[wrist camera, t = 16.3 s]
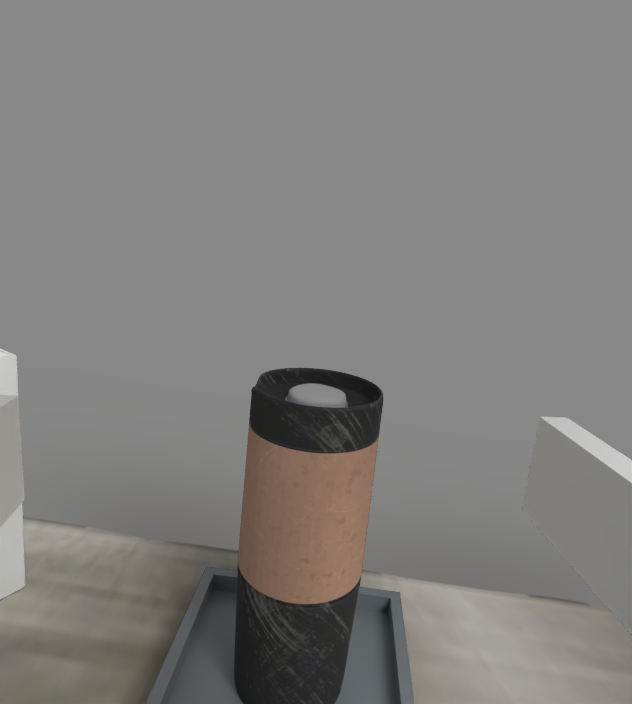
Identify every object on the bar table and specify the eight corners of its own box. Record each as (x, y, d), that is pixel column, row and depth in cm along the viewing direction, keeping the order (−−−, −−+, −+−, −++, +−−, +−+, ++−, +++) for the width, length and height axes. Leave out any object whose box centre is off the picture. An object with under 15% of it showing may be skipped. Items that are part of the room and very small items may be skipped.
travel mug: (370, 687, 33) (413, 396, 29) (276, 757, 28) (311, 418, 24) (296, 616, 39) (323, 362, 34) (207, 664, 34) (224, 374, 29)
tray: (396, 615, 41) (399, 592, 41) (421, 839, 26) (427, 806, 25) (205, 590, 42) (206, 566, 41) (120, 792, 27) (120, 759, 26)
